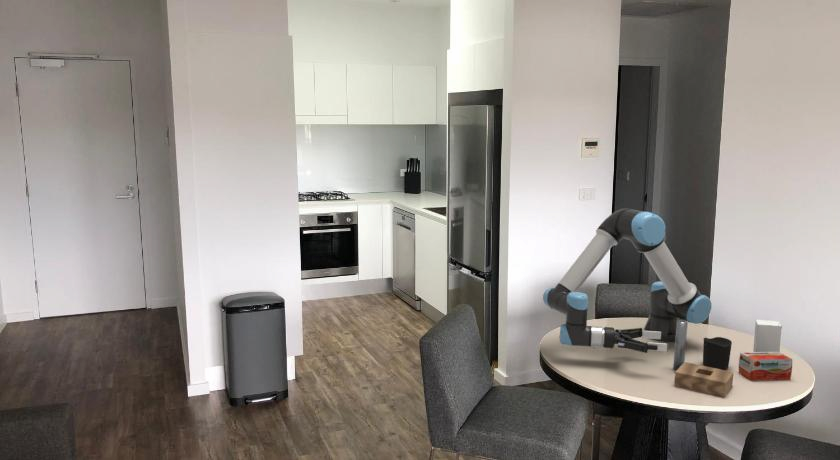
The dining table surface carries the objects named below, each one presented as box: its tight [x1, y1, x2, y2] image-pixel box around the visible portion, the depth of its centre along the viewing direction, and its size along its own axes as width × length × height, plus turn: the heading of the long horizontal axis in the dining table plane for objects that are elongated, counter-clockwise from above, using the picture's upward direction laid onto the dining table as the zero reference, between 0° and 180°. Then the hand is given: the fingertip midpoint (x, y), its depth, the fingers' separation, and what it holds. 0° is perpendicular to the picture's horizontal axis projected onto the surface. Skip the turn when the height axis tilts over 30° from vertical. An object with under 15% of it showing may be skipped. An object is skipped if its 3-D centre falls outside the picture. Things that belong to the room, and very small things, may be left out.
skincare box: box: [752, 319, 783, 353], centre depth 255 cm, size 8×7×16 cm
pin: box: [672, 319, 689, 372], centre depth 246 cm, size 4×4×18 cm
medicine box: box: [738, 351, 793, 382], centre depth 241 cm, size 15×8×8 cm, turn 96°
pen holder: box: [702, 336, 733, 371], centre depth 250 cm, size 9×9×10 cm
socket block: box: [673, 361, 734, 398], centre depth 232 cm, size 16×12×5 cm
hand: (663, 341), depth 246 cm, fingers open, 13 cm apart
